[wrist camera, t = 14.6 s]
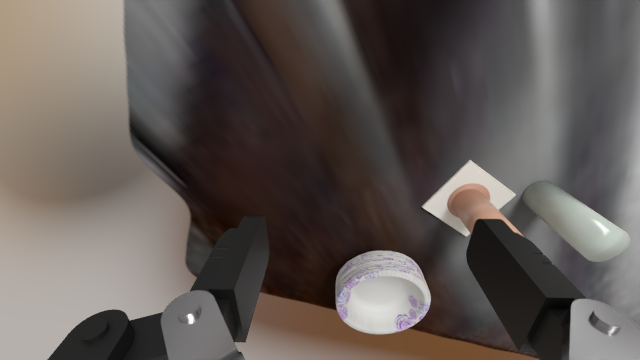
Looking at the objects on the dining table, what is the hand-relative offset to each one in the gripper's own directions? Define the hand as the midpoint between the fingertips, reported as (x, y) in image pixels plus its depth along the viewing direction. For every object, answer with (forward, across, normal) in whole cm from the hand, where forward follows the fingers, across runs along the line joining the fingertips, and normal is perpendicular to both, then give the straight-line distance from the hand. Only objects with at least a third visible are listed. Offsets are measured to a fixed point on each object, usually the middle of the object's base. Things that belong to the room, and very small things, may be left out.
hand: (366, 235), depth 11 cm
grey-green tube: (+30, -31, +15) cm, 46 cm away
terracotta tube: (+30, -20, +17) cm, 40 cm away
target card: (+30, -20, +17) cm, 40 cm away
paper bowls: (+30, -7, +32) cm, 45 cm away
